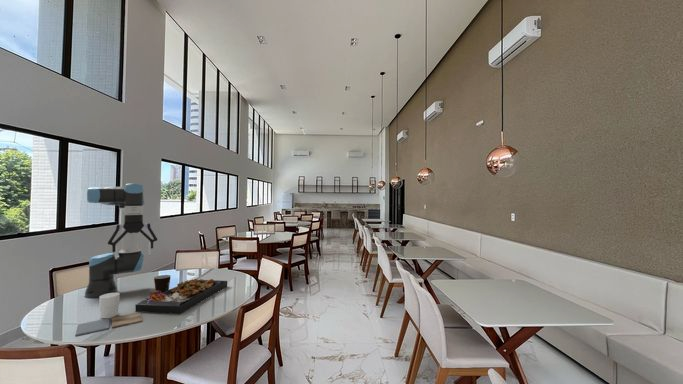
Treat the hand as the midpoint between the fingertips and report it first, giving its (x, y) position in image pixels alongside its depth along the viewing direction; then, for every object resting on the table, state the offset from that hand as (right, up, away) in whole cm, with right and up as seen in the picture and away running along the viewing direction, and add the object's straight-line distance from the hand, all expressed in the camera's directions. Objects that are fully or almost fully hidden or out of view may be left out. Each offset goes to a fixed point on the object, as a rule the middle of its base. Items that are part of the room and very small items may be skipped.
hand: (133, 256), depth 147 cm
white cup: (-9, -28, -4) cm, 30 cm away
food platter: (+15, -29, +22) cm, 40 cm away
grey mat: (-6, -28, -17) cm, 33 cm away
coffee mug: (-3, -29, +31) cm, 43 cm away
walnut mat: (+3, -28, -9) cm, 29 cm away
